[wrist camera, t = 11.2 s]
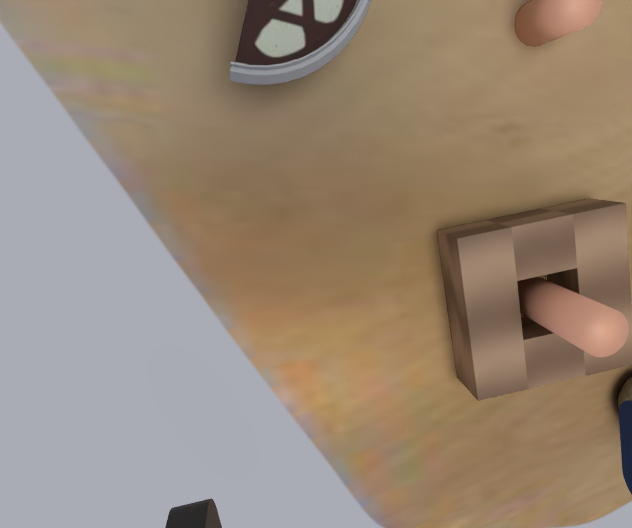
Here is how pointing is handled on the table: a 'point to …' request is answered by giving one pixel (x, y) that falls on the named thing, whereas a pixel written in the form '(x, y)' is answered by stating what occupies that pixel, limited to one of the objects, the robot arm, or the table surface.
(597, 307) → the long dowel
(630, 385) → the fennel bulb
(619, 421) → the robot arm
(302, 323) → the table surface
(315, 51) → the food container
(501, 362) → the walnut block
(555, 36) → the short dowel
